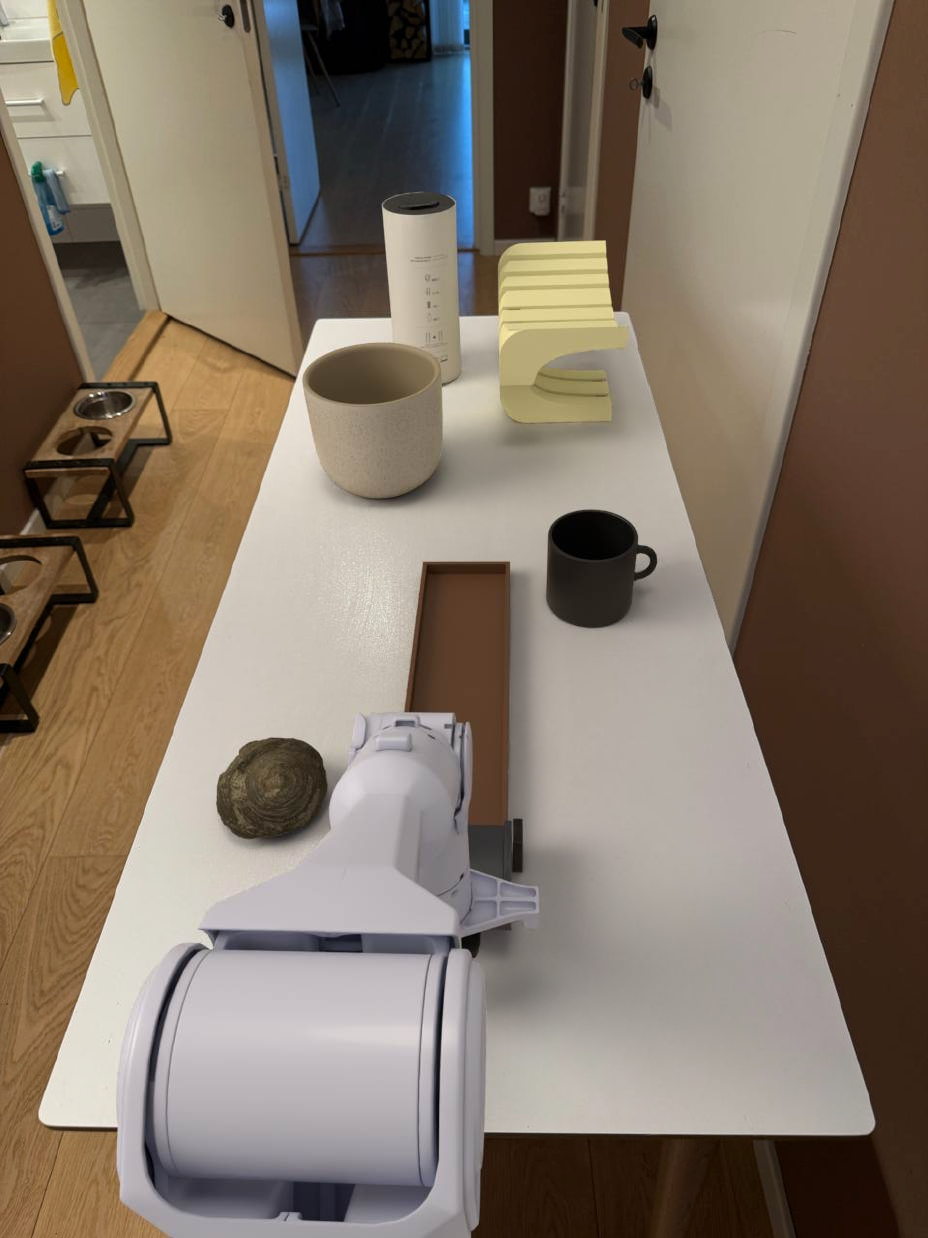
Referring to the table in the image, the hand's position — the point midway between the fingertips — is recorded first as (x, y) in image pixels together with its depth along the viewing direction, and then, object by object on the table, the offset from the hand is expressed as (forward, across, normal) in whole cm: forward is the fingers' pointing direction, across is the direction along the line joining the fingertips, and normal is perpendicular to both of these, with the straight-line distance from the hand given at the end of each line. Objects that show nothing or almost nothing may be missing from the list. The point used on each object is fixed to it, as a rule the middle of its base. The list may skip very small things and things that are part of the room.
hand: (436, 968), depth 66 cm
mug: (+4, -15, -46) cm, 49 cm away
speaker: (+4, +8, -101) cm, 101 cm away
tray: (+4, 0, -31) cm, 31 cm away
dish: (+1, 0, -6) cm, 6 cm away
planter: (+4, +12, -71) cm, 72 cm away
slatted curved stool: (+4, -11, -92) cm, 93 cm away
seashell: (+4, +16, -19) cm, 25 cm away
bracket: (+4, 0, -12) cm, 13 cm away
